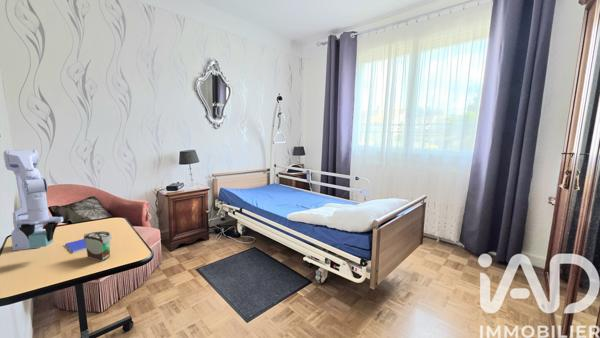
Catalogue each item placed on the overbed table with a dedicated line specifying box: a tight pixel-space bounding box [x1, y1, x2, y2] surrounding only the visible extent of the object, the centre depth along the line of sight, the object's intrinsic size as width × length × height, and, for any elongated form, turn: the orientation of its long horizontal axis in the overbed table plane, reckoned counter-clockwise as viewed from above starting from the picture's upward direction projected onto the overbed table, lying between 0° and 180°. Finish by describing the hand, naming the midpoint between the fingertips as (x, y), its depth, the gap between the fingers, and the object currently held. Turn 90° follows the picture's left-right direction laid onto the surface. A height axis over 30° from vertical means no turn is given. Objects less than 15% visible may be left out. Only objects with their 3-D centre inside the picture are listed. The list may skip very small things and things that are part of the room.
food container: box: [83, 230, 113, 262], centre depth 107 cm, size 12×6×10 cm, turn 71°
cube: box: [28, 229, 54, 249], centre depth 101 cm, size 5×5×5 cm
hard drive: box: [64, 238, 87, 254], centre depth 116 cm, size 2×8×12 cm
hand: (41, 240), depth 102 cm, fingers closed on cube, 5 cm apart
